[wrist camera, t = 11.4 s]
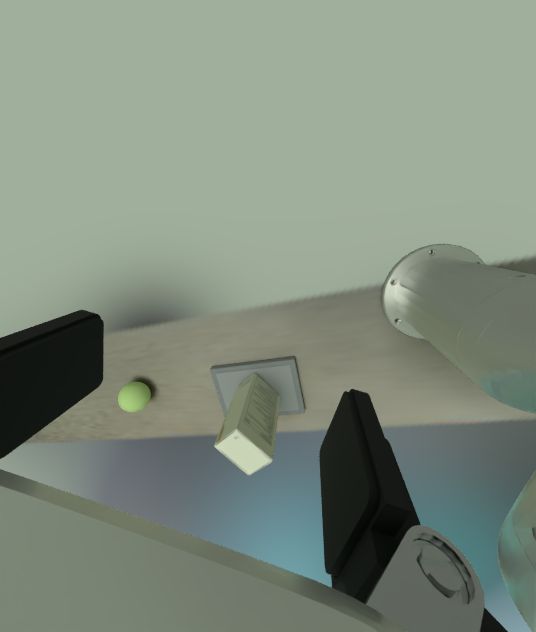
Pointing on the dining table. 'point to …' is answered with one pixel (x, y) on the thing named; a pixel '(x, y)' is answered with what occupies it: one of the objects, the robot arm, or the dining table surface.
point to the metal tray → (271, 371)
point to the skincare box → (250, 425)
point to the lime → (134, 396)
